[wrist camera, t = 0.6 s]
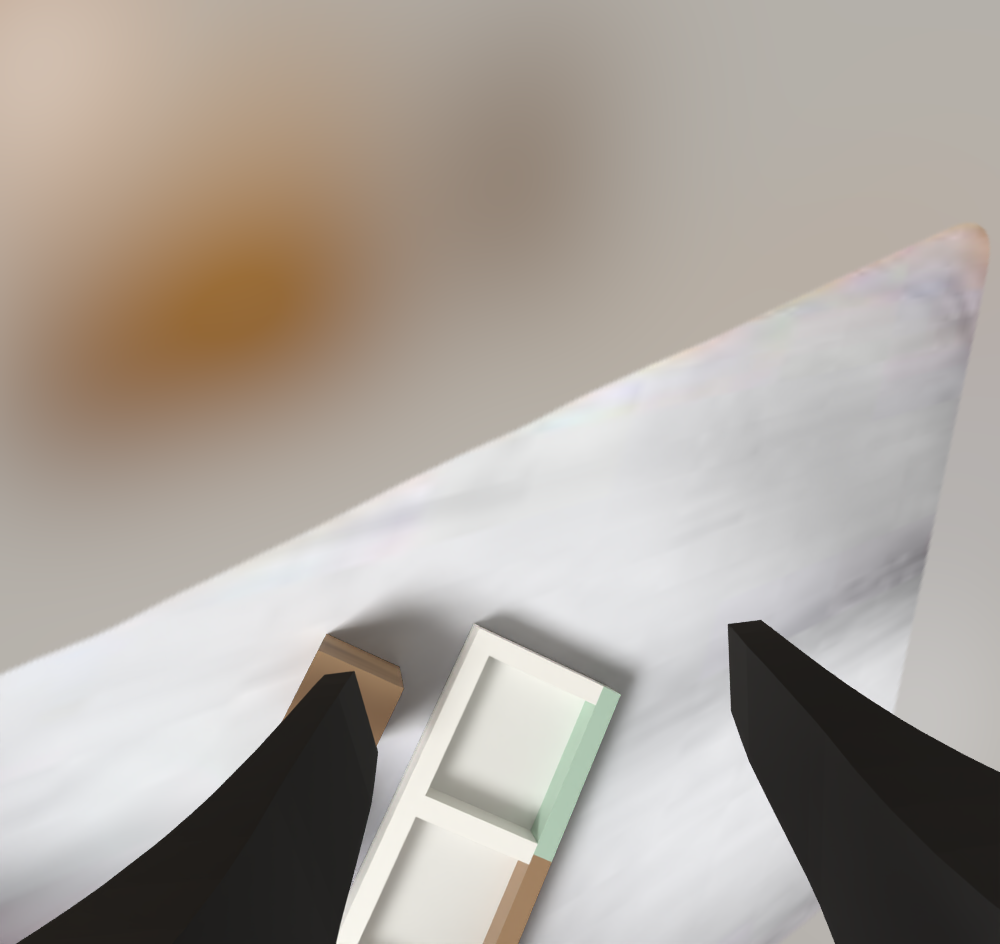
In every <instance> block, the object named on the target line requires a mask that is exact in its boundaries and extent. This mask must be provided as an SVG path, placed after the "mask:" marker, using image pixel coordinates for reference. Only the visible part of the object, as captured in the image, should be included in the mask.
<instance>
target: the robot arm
mask: <svg viewBox="0 0 1000 944" xmlns="http://www.w3.org/2000/svg"><path fill="white" fill-rule="evenodd" d="M728 642H729V669H730V695H731V712H732V715H733V718H734V721H735V724H736V726H737V729H738V732H739V735H740V738H741V741H742V743H743V746H744V749H745V751H746V754H747V757H748V759H749V762H750V764H751V766H752V768H753V770H754V772H755V774H756V776H757V778H758V781H759V783H760V785H761V787H762V789H763V791H764V793H765V795H766V797H767V799H768V801H769V803H770V805H771V807H772V809H773V811H774V813H775V815H776V817H777V819H778V821H779V823H780V825H781V827H782V829H783V830H784V832H785V834H786V836H787V838H788V840H789V842H790V844H791V846H792V848H793V850H794V852H795V854H796V856H797V858H798V860H799V862H800V864H801V866H802V868H803V870H804V872H805V874H806V876H807V878H808V880H809V883H810V885H811V887H812V889H813V891H814V894H815V896H816V898H817V900H818V902H819V904H820V907H821V909H822V912H823V914H824V917H825V919H826V922H827V924H828V926H829V929H830V932H831V934H832V937H833V939H834V942H835V944H1000V772H998V771H996V770H994V769H992V768H990V767H988V766H986V765H984V764H982V763H980V762H978V761H975V760H974V759H972V758H970V757H968V756H966V755H964V754H962V753H960V752H958V751H956V750H955V749H953V748H951V747H949V746H947V745H945V744H943V743H942V742H940V741H938V740H936V739H934V738H933V737H931V736H929V735H927V734H925V733H923V732H921V731H920V730H918V729H916V728H915V727H913V726H911V725H910V724H908V723H906V722H904V721H903V720H901V719H900V718H898V717H896V716H895V715H893V714H892V713H890V712H889V711H887V710H885V709H884V708H882V707H881V706H879V705H877V704H876V703H874V702H873V701H871V700H870V699H868V698H867V697H865V696H864V695H862V694H861V693H859V692H858V691H856V690H855V689H853V688H852V687H850V686H849V685H847V684H846V683H844V682H843V681H842V680H840V679H839V678H837V677H836V676H835V675H833V674H832V673H830V672H829V671H828V670H826V669H825V668H823V667H822V666H821V665H819V664H818V663H817V662H815V661H814V660H813V659H811V658H810V657H809V656H807V655H806V654H805V653H803V652H802V651H801V650H799V649H798V648H797V647H796V646H794V645H793V644H792V643H790V642H789V641H788V640H786V639H785V638H784V637H783V636H781V635H780V634H779V633H777V632H776V631H775V630H773V629H772V628H771V627H769V626H768V625H767V624H766V623H764V622H763V621H762V620H757V621H749V622H741V623H733V624H728ZM377 756H378V751H377V747H376V744H375V740H374V737H373V733H372V730H371V726H370V723H369V719H368V716H367V712H366V709H365V705H364V702H363V698H362V695H361V691H360V688H359V684H358V681H357V678H356V674H355V671H349V672H341V673H333V674H325V675H324V676H323V677H322V678H321V679H320V680H319V681H318V682H317V683H316V684H315V685H314V686H313V687H312V688H311V690H310V691H309V692H308V693H307V694H306V695H305V696H304V697H303V699H302V700H301V701H300V702H299V703H298V704H297V705H296V707H295V708H294V709H293V710H292V711H291V712H290V713H289V714H288V716H287V717H286V718H285V719H284V720H283V721H282V722H281V723H280V724H279V726H278V727H277V728H276V729H275V730H274V731H273V732H272V733H271V734H270V736H269V737H268V738H267V739H266V740H265V741H264V742H263V743H262V744H261V745H260V747H259V748H258V749H257V750H256V751H255V752H254V753H253V754H252V755H251V756H250V757H249V758H248V759H247V760H246V761H245V762H244V763H243V764H242V765H241V766H240V767H239V768H238V769H237V770H236V771H235V772H234V773H233V774H232V775H231V776H230V777H229V778H228V779H227V780H226V781H225V782H224V783H223V784H222V785H221V786H220V787H219V788H218V789H217V790H216V791H215V792H214V793H213V794H212V795H211V796H210V797H209V798H208V799H207V800H206V801H205V802H204V803H203V804H202V805H201V806H199V807H198V808H197V809H196V810H195V811H194V812H193V813H192V814H191V815H189V816H188V817H187V818H186V819H185V820H184V821H183V822H181V823H180V824H179V825H178V826H177V827H176V828H175V829H173V830H172V831H171V832H170V833H169V834H168V835H166V836H165V837H164V838H163V839H162V840H160V841H159V842H158V843H157V844H156V845H154V846H153V847H152V848H150V849H149V850H148V851H147V852H145V853H144V854H143V855H141V856H140V857H139V858H138V859H136V860H135V861H134V862H132V863H131V864H130V865H128V866H127V867H126V868H125V869H123V870H122V871H121V872H119V873H118V874H117V875H116V876H114V877H113V878H112V879H110V880H109V881H108V882H106V883H105V884H104V885H102V886H101V887H100V888H98V889H97V890H96V891H94V892H93V893H91V894H90V895H88V896H87V897H86V898H84V899H83V900H81V901H80V902H78V903H77V904H76V905H74V906H73V907H71V908H70V909H68V910H67V911H65V912H64V913H62V914H61V915H59V916H58V917H56V918H55V919H53V920H52V921H50V922H49V923H47V924H46V925H44V926H43V927H41V928H40V929H38V930H37V931H35V932H34V933H32V934H31V935H29V936H28V937H26V938H24V939H23V940H21V941H20V942H18V943H17V944H336V942H337V938H338V933H339V929H340V924H341V920H342V917H343V913H344V909H345V905H346V901H347V897H348V894H349V890H350V886H351V882H352V878H353V874H354V870H355V867H356V863H357V859H358V855H359V851H360V847H361V844H362V840H363V836H364V832H365V828H366V824H367V820H368V816H369V812H370V807H371V803H372V796H373V789H374V782H375V773H376V765H377Z"/></svg>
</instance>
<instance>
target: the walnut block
mask: <svg viewBox="0 0 1000 944" xmlns="http://www.w3.org/2000/svg"><path fill="white" fill-rule="evenodd" d="M349 671H355V674H356V678H357V681H358V684H359V688H360V691H361V695H362V698H363V702H364V705H365V709H366V712H367V716H368V719H369V723H370V726H371V730H372V733H373V737H374V740H375V744H376V746H377V744H378V742H379V740H380V738H381V736H382V734H383V731H384V729H385V727H386V725H387V723H388V721H389V719H390V717H391V715H392V712H393V710H394V708H395V706H396V704H397V702H398V700H399V698H400V696H401V694H402V691H403V689H404V687H403V682H402V677H401V672H400V667H399V666H396V665H394V664H392V663H390V662H387V661H385V660H383V659H381V658H379V657H376V656H374V655H372V654H370V653H368V652H365V651H363V650H361V649H359V648H357V647H354V646H352V645H350V644H348V643H346V642H343V641H341V640H339V639H337V638H335V637H332V636H330V635H328V634H326V636H325V638H324V640H323V642H322V644H321V646H320V648H319V649H318V651H317V653H316V655H315V657H314V659H313V661H312V663H311V665H310V667H309V669H308V671H307V673H306V675H305V677H304V679H303V681H302V683H301V685H300V687H299V689H298V691H297V693H296V695H295V697H294V699H293V701H292V703H291V705H290V707H289V709H288V711H287V713H286V715H285V717H284V719H285V718H286V717H287V716H288V714H289V713H290V712H291V711H292V710H293V709H294V708H295V707H296V705H297V704H298V703H299V702H300V701H301V700H302V699H303V697H304V696H305V695H306V694H307V693H308V692H309V691H310V690H311V688H312V687H313V686H314V685H315V684H316V683H317V682H318V681H319V680H320V679H321V678H322V677H323V676H324V675H325V674H333V673H341V672H349ZM284 719H283V720H284Z"/></svg>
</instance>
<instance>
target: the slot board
mask: <svg viewBox="0 0 1000 944" xmlns="http://www.w3.org/2000/svg"><path fill="white" fill-rule="evenodd" d="M620 695H621V694H619V693H618V692H616V691H615V690H613V689H611V688H610V687H608V686H606V685H604V684H602V683H600V682H598V681H595V680H593V679H591V678H589V677H587V676H585V675H583V674H581V673H578V672H576V671H574V670H572V669H570V668H568V667H566V666H564V665H561V664H559V663H557V662H555V661H553V660H551V659H549V658H546V657H544V656H542V655H540V654H538V653H536V652H534V651H532V650H529V649H527V648H525V647H523V646H521V645H519V644H517V643H515V642H512V641H510V640H508V639H506V638H504V637H502V636H500V635H498V634H495V633H493V632H491V631H489V630H487V629H485V628H483V627H481V626H478V625H476V624H473V626H472V628H471V630H470V633H469V635H468V637H467V639H466V641H465V643H464V646H463V648H462V650H461V652H460V654H459V656H458V659H457V661H456V663H455V665H454V667H453V669H452V671H451V674H450V676H449V678H448V680H447V682H446V684H445V687H444V689H443V691H442V693H441V695H440V697H439V699H438V702H437V704H436V706H435V708H434V710H433V712H432V715H431V717H430V719H429V721H428V723H427V725H426V727H425V730H424V732H423V734H422V736H421V738H420V740H419V743H418V745H417V747H416V749H415V751H414V753H413V755H412V758H411V760H410V762H409V764H408V766H407V768H406V771H405V773H404V775H403V777H402V779H401V781H400V784H399V786H398V788H397V790H396V792H395V794H394V796H393V799H392V801H391V803H390V805H389V807H388V809H387V812H386V814H385V816H384V818H383V820H382V822H381V824H380V827H379V829H378V831H377V833H376V835H375V837H374V840H373V842H372V844H371V846H370V848H369V850H368V852H367V855H366V857H365V859H364V861H363V863H362V865H361V868H360V870H359V872H358V874H357V876H356V878H355V880H354V883H353V885H352V887H351V889H350V891H349V894H348V897H347V901H346V905H345V909H344V913H343V917H342V920H341V924H340V929H339V933H338V938H337V942H336V944H518V943H519V940H520V938H521V935H522V933H523V930H524V928H525V926H526V923H527V921H528V918H529V916H530V913H531V911H532V909H533V906H534V904H535V901H536V899H537V897H538V894H539V892H540V889H541V887H542V884H543V882H544V880H545V877H546V875H547V872H548V870H549V867H550V865H551V863H552V860H553V858H554V855H555V853H556V850H557V848H558V846H559V843H560V841H561V838H562V836H563V834H564V831H565V829H566V826H567V824H568V821H569V819H570V817H571V814H572V812H573V809H574V807H575V804H576V802H577V800H578V797H579V795H580V792H581V790H582V787H583V785H584V783H585V780H586V778H587V775H588V773H589V771H590V768H591V766H592V763H593V761H594V758H595V756H596V754H597V751H598V749H599V746H600V744H601V741H602V739H603V737H604V734H605V732H606V729H607V727H608V724H609V722H610V720H611V717H612V715H613V712H614V710H615V708H616V705H617V703H618V700H619V698H620Z"/></svg>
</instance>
